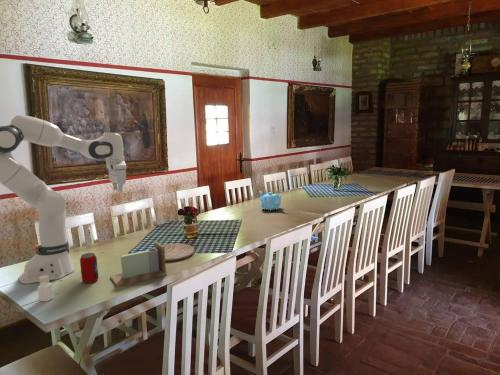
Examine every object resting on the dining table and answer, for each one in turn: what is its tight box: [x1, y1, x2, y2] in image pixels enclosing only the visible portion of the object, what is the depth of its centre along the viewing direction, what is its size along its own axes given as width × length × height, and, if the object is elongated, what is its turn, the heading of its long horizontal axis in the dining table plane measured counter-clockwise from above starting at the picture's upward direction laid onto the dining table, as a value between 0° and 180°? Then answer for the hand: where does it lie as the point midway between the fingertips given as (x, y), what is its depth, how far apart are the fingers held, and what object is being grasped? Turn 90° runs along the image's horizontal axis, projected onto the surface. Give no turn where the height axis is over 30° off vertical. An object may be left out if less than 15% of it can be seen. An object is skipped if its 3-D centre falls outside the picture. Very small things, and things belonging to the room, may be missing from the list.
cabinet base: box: [109, 241, 168, 288], centre depth 169 cm, size 22×12×13 cm, turn 123°
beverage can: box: [79, 252, 99, 284], centre depth 165 cm, size 7×7×12 cm
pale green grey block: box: [120, 247, 159, 279], centre depth 169 cm, size 16×4×10 cm, turn 123°
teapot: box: [259, 190, 283, 211], centre depth 292 cm, size 16×20×14 cm
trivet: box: [150, 243, 195, 264], centre depth 199 cm, size 25×25×2 cm
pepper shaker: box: [37, 275, 55, 302], centre depth 148 cm, size 4×4×10 cm
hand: (117, 191), depth 193 cm, fingers open, 8 cm apart
